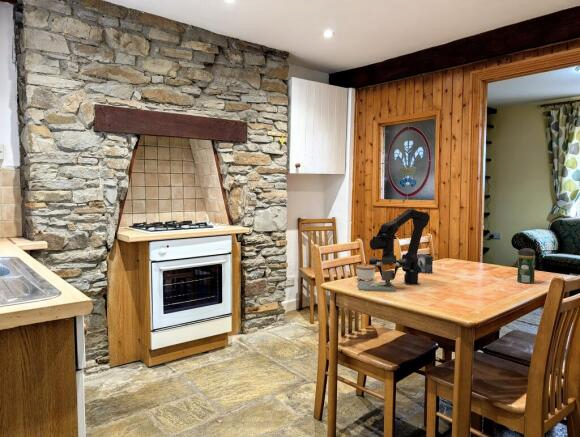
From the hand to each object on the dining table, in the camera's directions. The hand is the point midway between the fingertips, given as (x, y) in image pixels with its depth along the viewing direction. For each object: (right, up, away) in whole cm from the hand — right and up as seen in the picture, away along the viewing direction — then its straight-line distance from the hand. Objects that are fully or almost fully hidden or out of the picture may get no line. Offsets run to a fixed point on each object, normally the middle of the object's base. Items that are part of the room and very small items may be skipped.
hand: (388, 278), depth 214 cm
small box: (+31, -3, +43) cm, 53 cm away
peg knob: (-4, -3, -2) cm, 5 cm away
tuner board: (-6, -5, 0) cm, 8 cm away
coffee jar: (+79, -4, +13) cm, 80 cm away
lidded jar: (-8, -4, +19) cm, 21 cm away
